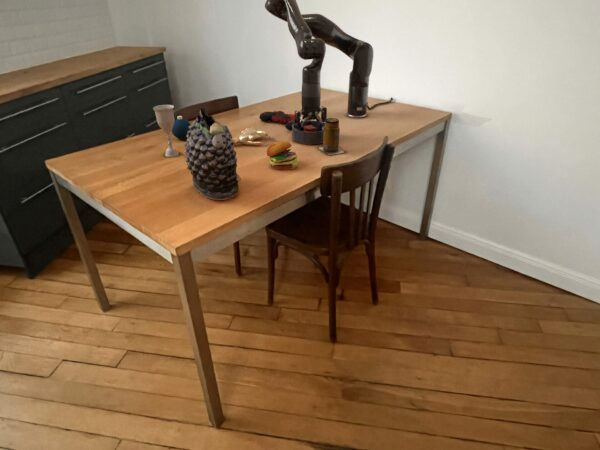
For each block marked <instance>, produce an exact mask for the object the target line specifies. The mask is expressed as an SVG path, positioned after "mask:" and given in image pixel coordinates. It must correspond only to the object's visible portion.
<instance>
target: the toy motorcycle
mask: <svg viewBox="0 0 600 450" xmlns="http://www.w3.org/2000/svg"><path fill="white" fill-rule="evenodd" d="M294 117H295V113H294V114H293V113H285V112H284V111H282V110H276V111H275V110H274V111H264V112H261V113H260V114H259V119H260V121H262V122H265V123H266V122H267V123H268V122H275V123H277V124H282V125H284V127H285V129H286V130H289V131H292V125H293V124H294ZM304 120H305V118H304Z"/></svg>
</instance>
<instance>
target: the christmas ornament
mask: <svg viewBox="0 0 600 450" xmlns="http://www.w3.org/2000/svg"><path fill="white" fill-rule="evenodd" d="M191 125H192V123H191V122H190V121H189V120H188V119H186V118H183V116H182V115H178V116H177V118H176V119H175V121H174V126H173V129H172V131H171V133H172V135H173V136H174V137H175V138H176V139H179V140H187V137H186V136H187V135H188V133H187V132H188V131H189V130H190V129H189V126H191Z"/></svg>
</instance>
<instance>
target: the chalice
mask: <svg viewBox="0 0 600 450" xmlns="http://www.w3.org/2000/svg"><path fill="white" fill-rule="evenodd" d="M174 108H175V106H174V105H173V104H159V105H156V106H153V107H152V110H153V111H154V113H155V118H156V122H157V125H158V126H159V127H160V129H161V130H162V132H163V133H165V134H166V139H167V143H166V144H168V147H167V148H166V150H165V157H167V158H173V157H178V156H179V155H180V154H179V151H178V150H177V149H176V148H175V147H173V144H172V143H173V141H172V136H171V133H172V129H173V126H174V121H175V120H176V119H175V114H174Z"/></svg>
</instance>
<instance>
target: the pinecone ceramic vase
mask: <svg viewBox="0 0 600 450" xmlns="http://www.w3.org/2000/svg"><path fill="white" fill-rule="evenodd" d="M189 129H190V130H189V131H188V132H187V133H188V135H187V136H186V137H187V138H186V141H185V142H184V144H183V146H184V147H185V151H184V155H185V158H186V159H185V162H186V165H187V167H186V169H187V170H188V171H190V174H191V177H192V178H191V179H192V183H193V187H194V188H195V189H196V191H197V192H199V194H200V195H201V196H202V197H205V198H207V199H211V200H215V201H225V200H228V199H231V198H233V197H234V196H235V195H236V194H238V193H239V189H240V188H239V187H240V184H239V182H240V181H241V180H242V178H241V176H240V174H238V173H237V167H238V163H237V162H238V158H237V151H235V145H233V139H234V138H233V136H232V134H231V131H230V129H229V127H228V126H227V125H226V124H225V125H222V124H221V122H219V121H217V120H216V118H214V117H213V115H210V114H209V113H208V112H207V111H206V110H205V109H204V108H203V107H202V108H200V110H199V115H196V119H194V121H193V123H191V126H189Z"/></svg>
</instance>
